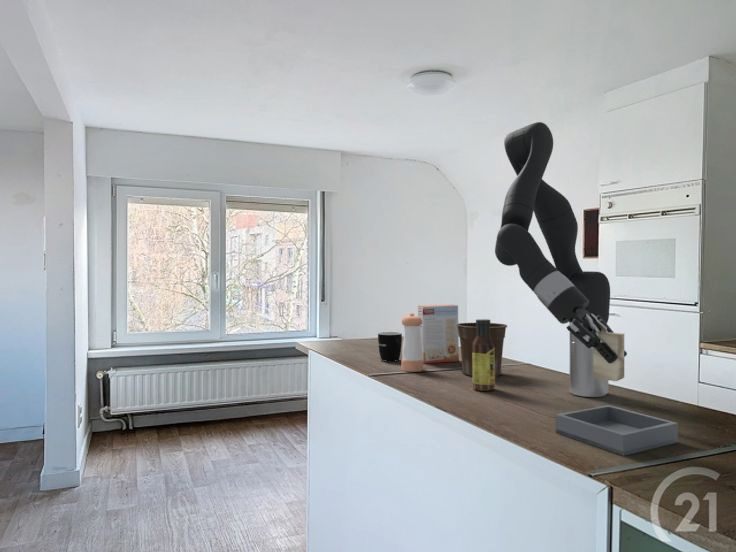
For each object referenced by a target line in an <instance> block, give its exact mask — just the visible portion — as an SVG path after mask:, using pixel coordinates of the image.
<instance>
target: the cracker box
mask: <svg viewBox="0 0 736 552" xmlns="http://www.w3.org/2000/svg"><path fill="white" fill-rule="evenodd" d="M417 316H418V317H420V318H421V319H422V324H421V325H420V341H421V347H422V360H423V364H435V363H451V362H452V363H455V362H459V361H460V355H459V353H460V350H459V349H460V347H459V345H460V337H459V335H458V327H457V326H456V324H459V305H458V304H453V303H452V304H428V305H427V304H424V305H417Z"/></svg>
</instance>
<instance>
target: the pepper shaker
mask: <svg viewBox="0 0 736 552" xmlns="http://www.w3.org/2000/svg"><path fill="white" fill-rule="evenodd" d="M401 324H402V326H403V340H402V347H401V351H402V358H401V367H400V368H401V371H403V372H408V373H409V372H410V373H413V372H414V373H415V372H422V371H423V370H424V363H423V360H422V347H421V341H420V325H421V324H422V319H421V318H420V317H418V315H415V314H414V313H409V315H406V316H404V317H402V318H401Z"/></svg>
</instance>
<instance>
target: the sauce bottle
mask: <svg viewBox="0 0 736 552" xmlns="http://www.w3.org/2000/svg"><path fill="white" fill-rule="evenodd" d="M475 323H476V326H477V333H476V334H477V336H476V338H475V339H474V341H473V352H472V370H473V376H472V388H473V390H475V391H481V392H491V391H494V390H495V384H496V376H495V347H494V344H493V341H492V339H491V336H490V323H491V319H489V318H479V319H476V320H475Z"/></svg>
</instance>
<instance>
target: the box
mask: <svg viewBox="0 0 736 552" xmlns="http://www.w3.org/2000/svg"><path fill="white" fill-rule="evenodd" d="M555 433H556V434H559V435H562V436H565V437H566V438H571V439H573V440H575V441H579V442H582V443H584V444H588V445H591V446H593V447H595V448H596V447H597V448H599V449H602V450H604V451H608V452H610V453H614V454H616V455H619V456H622V457H624V456H628V455H633V454H637V453H640V452H646V451H648V450H652V449H653V450H654V449H657V448H661V447H666V446H669V445H673V444H677V443H679V423H678V422H676V421H675V422H674V421H671V420H667V419H664V418H659V417H657V416H652V415H648V414H644V413H640V412H636V411H633V410H628V409H625V408H621V407H617V406H614V405H609V404H607V405H601V406H595V407H590V408H584V409H580V410H573V411H567V412H562V413H556V414H555Z"/></svg>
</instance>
